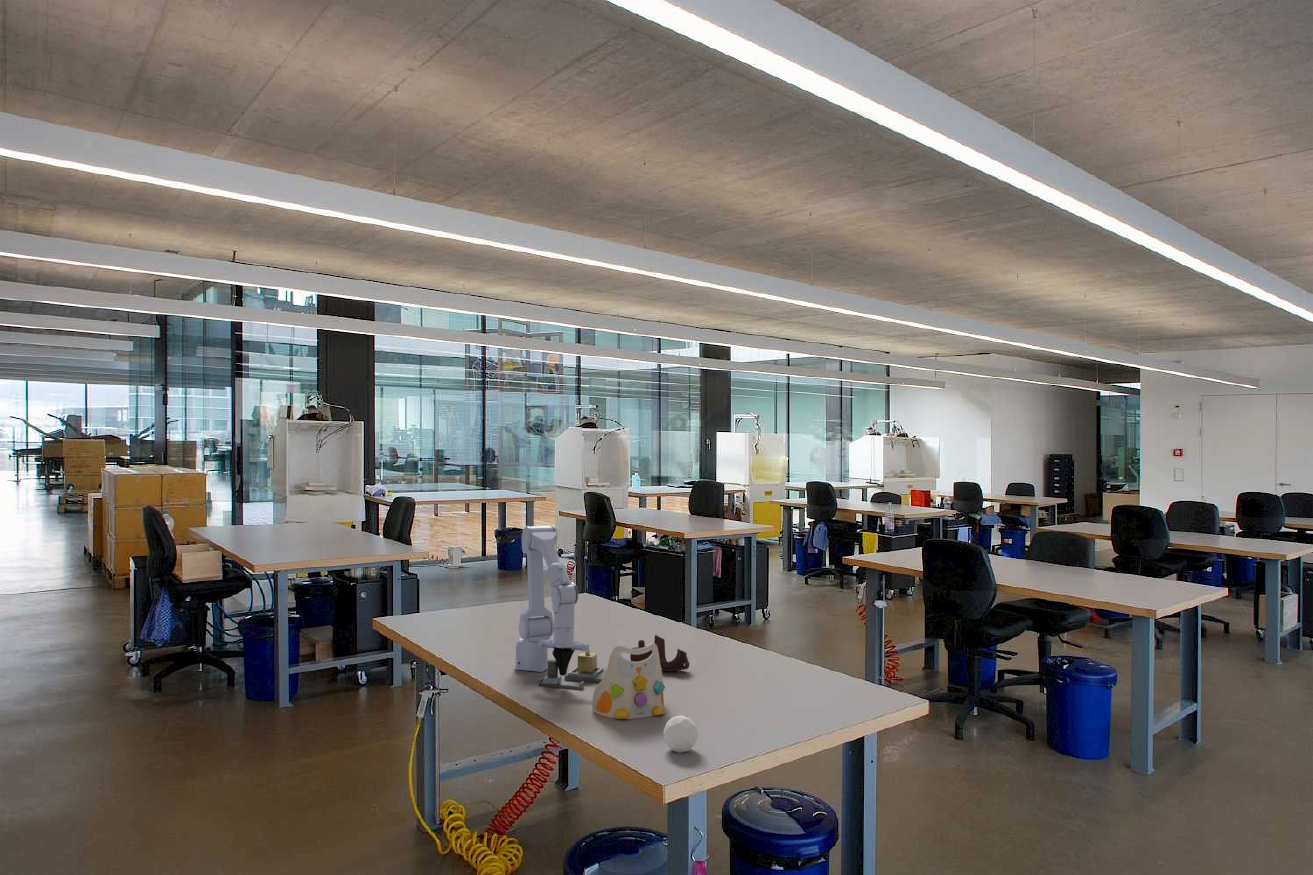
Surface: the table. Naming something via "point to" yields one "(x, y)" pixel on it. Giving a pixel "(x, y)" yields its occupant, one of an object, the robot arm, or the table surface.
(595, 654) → the housing
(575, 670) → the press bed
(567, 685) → the rail
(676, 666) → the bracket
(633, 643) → the table surface
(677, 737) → the ball
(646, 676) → the shape sorter
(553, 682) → the lever
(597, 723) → the table surface
